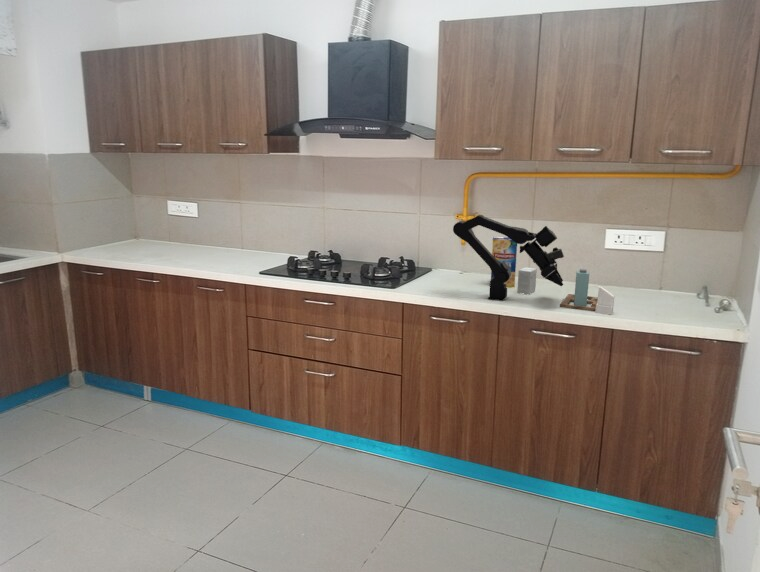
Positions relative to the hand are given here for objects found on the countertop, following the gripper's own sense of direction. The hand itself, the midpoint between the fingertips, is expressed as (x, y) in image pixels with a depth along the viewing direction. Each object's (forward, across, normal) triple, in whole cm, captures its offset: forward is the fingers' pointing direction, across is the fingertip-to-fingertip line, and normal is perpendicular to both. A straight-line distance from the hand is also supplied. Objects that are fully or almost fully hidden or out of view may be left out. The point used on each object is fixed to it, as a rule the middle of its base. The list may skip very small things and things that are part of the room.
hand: (562, 283), depth 235 cm
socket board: (+12, +4, 0) cm, 12 cm away
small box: (-4, +17, +16) cm, 24 cm away
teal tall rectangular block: (+12, 0, 0) cm, 12 cm away
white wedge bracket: (+18, -8, -6) cm, 20 cm away
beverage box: (-12, +27, +24) cm, 38 cm away
